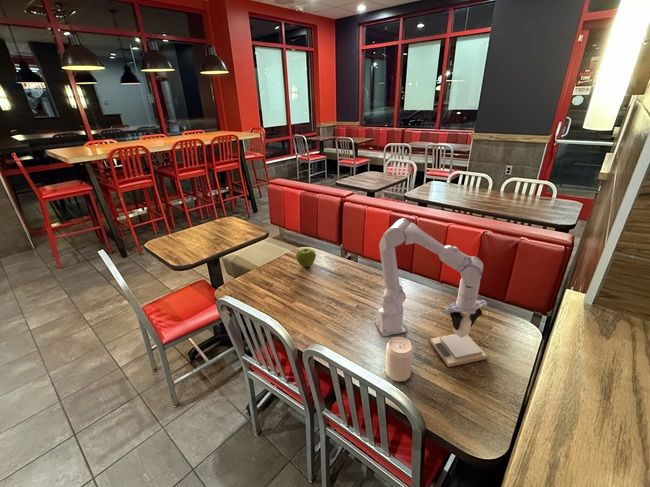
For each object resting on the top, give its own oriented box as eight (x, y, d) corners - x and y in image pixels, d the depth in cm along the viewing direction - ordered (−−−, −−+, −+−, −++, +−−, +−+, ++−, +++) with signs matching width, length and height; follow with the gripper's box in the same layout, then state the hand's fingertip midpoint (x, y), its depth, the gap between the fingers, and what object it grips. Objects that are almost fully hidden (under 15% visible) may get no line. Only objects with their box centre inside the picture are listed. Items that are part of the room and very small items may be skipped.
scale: (448, 367, 103) (449, 361, 102) (430, 342, 114) (430, 336, 112) (485, 359, 105) (487, 353, 104) (464, 335, 116) (465, 329, 115)
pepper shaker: (461, 339, 105) (465, 316, 101) (452, 332, 108) (455, 310, 104) (469, 334, 106) (474, 312, 102) (460, 328, 110) (464, 306, 106)
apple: (294, 270, 166) (293, 253, 162) (299, 260, 176) (297, 244, 171) (314, 270, 164) (313, 254, 160) (318, 261, 174) (317, 245, 170)
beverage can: (382, 364, 105) (383, 336, 100) (406, 361, 106) (408, 334, 101) (389, 384, 98) (390, 355, 93) (414, 381, 98) (417, 352, 93)
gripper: (454, 304, 95) (449, 338, 101) (496, 297, 98) (488, 330, 104) (442, 292, 102) (437, 324, 107) (481, 285, 104) (475, 317, 110)
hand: (461, 326), depth 106 cm, fingers closed on pepper shaker, 4 cm apart
